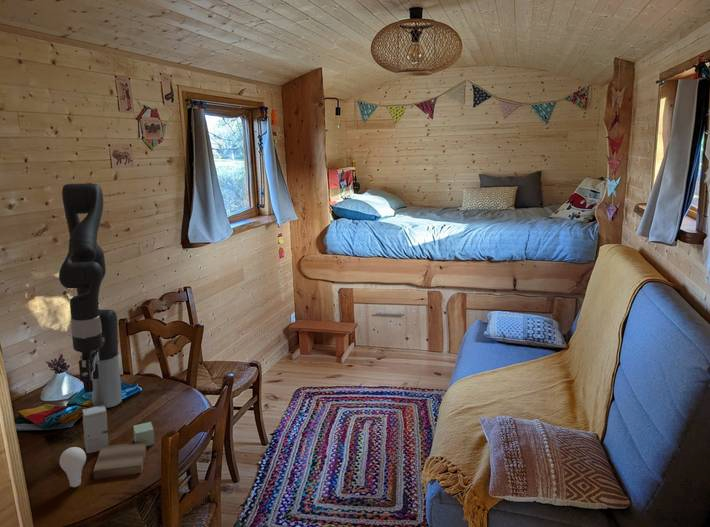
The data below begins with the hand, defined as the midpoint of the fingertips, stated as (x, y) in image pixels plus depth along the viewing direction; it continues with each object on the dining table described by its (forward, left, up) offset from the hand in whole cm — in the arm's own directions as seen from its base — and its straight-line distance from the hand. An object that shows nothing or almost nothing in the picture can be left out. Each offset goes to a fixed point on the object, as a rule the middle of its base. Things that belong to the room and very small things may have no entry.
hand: (92, 385), depth 154 cm
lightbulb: (+18, -2, -20) cm, 27 cm away
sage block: (0, +13, -20) cm, 24 cm away
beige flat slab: (+10, +8, -20) cm, 24 cm away
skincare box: (0, 0, -20) cm, 20 cm away
